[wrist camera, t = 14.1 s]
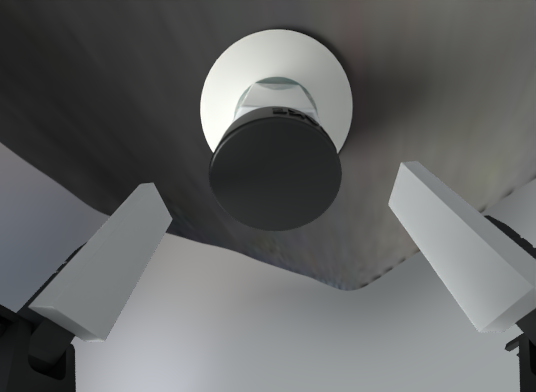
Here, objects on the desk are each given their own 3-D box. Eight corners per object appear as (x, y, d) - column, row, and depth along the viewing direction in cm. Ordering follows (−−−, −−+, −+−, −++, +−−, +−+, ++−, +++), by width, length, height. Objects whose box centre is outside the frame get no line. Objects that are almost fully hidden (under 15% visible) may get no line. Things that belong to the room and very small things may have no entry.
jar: (324, 142, 23) (360, 212, 14) (261, 171, 26) (254, 248, 16) (292, 59, 19) (311, 75, 9) (219, 103, 21) (173, 154, 12)
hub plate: (177, 132, 24) (174, 134, 23) (263, -23, 16) (263, -26, 16) (282, 202, 30) (282, 206, 29) (381, 111, 22) (384, 113, 21)
